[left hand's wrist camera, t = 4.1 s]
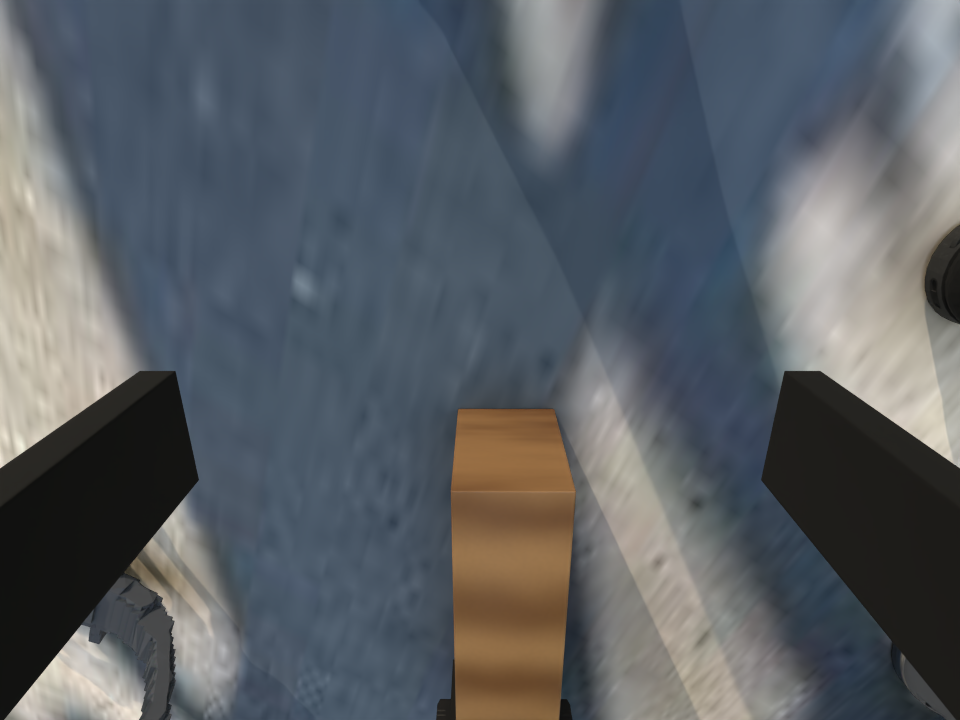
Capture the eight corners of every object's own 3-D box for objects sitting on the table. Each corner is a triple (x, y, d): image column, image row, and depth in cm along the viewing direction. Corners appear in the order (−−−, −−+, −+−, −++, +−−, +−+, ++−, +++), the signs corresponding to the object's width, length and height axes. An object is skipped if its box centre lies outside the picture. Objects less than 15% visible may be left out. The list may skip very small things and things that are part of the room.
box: (458, 408, 44) (450, 491, 34) (554, 408, 44) (576, 491, 34) (462, 687, 55) (458, 812, 45) (539, 687, 55) (552, 812, 45)
